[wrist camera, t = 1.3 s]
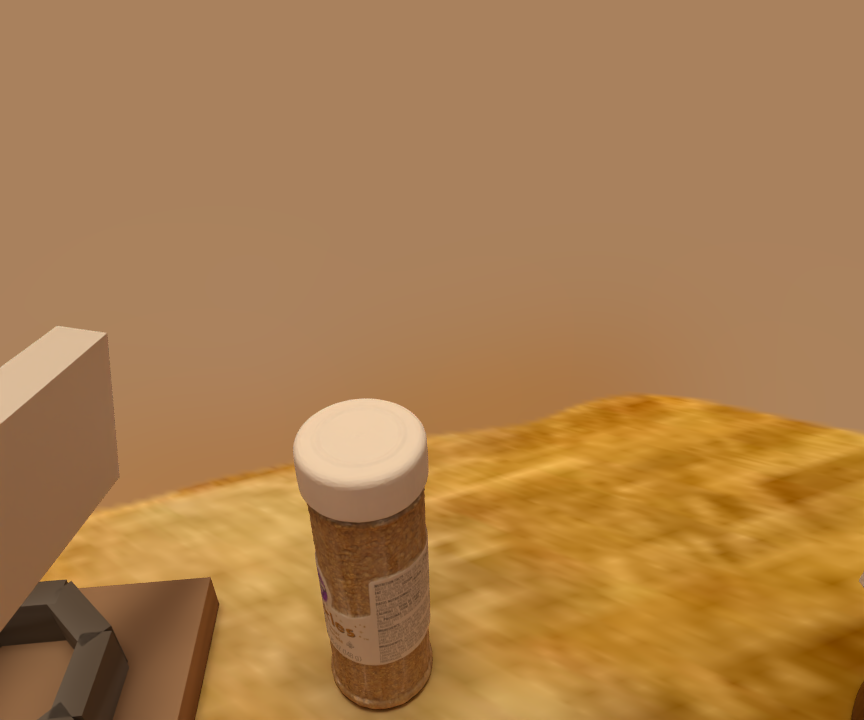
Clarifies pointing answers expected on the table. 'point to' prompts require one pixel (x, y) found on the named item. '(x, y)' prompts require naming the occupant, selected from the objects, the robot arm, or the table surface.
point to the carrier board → (107, 651)
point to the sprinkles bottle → (370, 544)
